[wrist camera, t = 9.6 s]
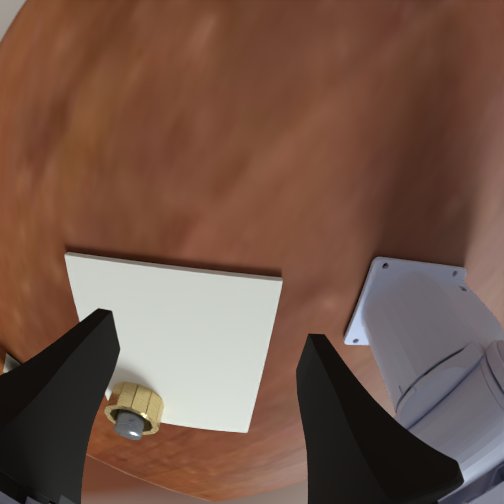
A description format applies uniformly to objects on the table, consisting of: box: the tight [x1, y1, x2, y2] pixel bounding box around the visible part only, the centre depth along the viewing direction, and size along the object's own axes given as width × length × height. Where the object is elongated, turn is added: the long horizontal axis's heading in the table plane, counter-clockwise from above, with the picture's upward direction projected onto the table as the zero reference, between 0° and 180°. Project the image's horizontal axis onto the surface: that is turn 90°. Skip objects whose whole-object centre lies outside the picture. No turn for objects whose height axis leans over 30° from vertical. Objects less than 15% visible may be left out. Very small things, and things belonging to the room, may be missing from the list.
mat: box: [65, 252, 283, 433], centre depth 24 cm, size 16×21×1 cm
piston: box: [114, 409, 146, 440], centre depth 24 cm, size 3×3×4 cm
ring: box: [104, 382, 164, 435], centre depth 25 cm, size 6×6×3 cm
